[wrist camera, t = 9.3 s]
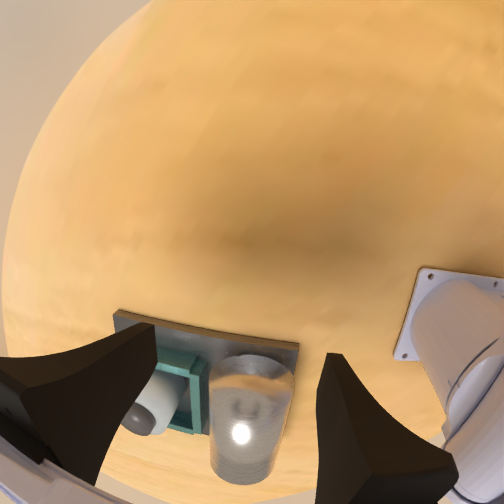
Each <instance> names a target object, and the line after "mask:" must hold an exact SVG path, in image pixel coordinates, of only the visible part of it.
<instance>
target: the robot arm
mask: <svg viewBox="0 0 504 504" xmlns="http://www.w3.org/2000/svg"><path fill="white" fill-rule="evenodd" d="M430 273H432V276H431V277H430V278H428V275H429V274H430ZM495 282H496V283H495ZM494 283H495V285H494ZM403 354H406V355H405V356H403ZM393 356H394V359H395V360H399V361H421V363H422V365H423V367H424V369H425V371H426V373H427V375H428V377H429V379H430V381H431V383H432V385H433V387H434V389H435V392H436V394H437V396H438V398H439V400H440V402H441V405H442V407H443V409H444V412H445V414H446V421H445V423H444V424H443V426H442V427H441V428H442V431H443V434H444V436H445V439H446V442H445V443H444V444H443V445H442V447H441V448H438V447H436V446H434V445H432V444H430V443H429V442H427V441H425V440H424V439H422V438H420V437H419V436H417V435H416V434H414V433H413V432H411V431H410V430H408V429H407V428H406V427H404V426H403V425H402V424H401V423H399V422H398V421H397V420H396V419H394V418H393V417H392V416H391V415H390V414H389V413H388V412H387V411H386V410H385V409H384V408H383V407H382V406H381V405H380V404H379V403H378V402H377V401H376V400H375V399H374V397H373V396H372V395H371V394H370V393H369V392H368V390H367V389H366V388H365V386H364V385H363V384H362V382H361V381H360V380H359V378H358V377H357V375H356V374H355V373H354V371H353V370H352V368H351V367H350V365H349V364H348V362H347V361H346V359H345V358H344V356H343V355H342V354H337V353H327V355H326V359H325V363H324V366H323V370H322V374H321V377H320V381H319V384H318V388H317V397H316V420H317V435H318V450H319V466H318V479H317V489H316V499H315V504H438V503H437V502H438V501H439V500H440V499H441V498H442V497H443V496H444V495H445V496H446V497H447V498H448V499H449V500H450V501H451V502H452V503H454V504H504V279H503V278H496V277H489V276H482V275H474V274H467V273H460V272H452V271H445V270H437V269H430V268H422V269H421V270H420V271H419V273H418V276H417V280H416V284H415V287H414V291H413V295H412V298H411V302H410V305H409V308H408V312H407V315H406V318H405V321H404V324H403V327H402V331H401V333H400V336H399V339H398V342H397V345H396V348H395V351H394V353H393ZM157 363H158V357H157V347H156V337H155V325H154V324H149V323H145V322H140V323H137V324H135V325H133V326H130V327H128V328H126V329H124V330H121V331H119V332H117V333H115V334H113V335H110V336H108V337H106V338H103V339H101V340H98V341H96V342H93V343H91V344H88V345H86V346H83V347H80V348H76V349H73V350H69V351H66V352H61V353H56V354H51V355H45V356H37V357H24V358H12V357H0V490H1V491H2V492H3V493H4V494H6V495H7V496H8V497H9V498H10V499H11V500H12V501H14V502H15V503H16V504H132V503H129V502H127V501H124V500H122V499H120V498H117V497H115V496H113V495H111V494H109V493H107V492H104V491H102V490H100V489H98V488H96V487H94V486H95V483H96V480H97V477H98V474H99V471H100V468H101V466H102V463H103V460H104V458H105V455H106V453H107V451H108V448H109V446H110V444H111V442H112V440H113V437H114V435H115V433H116V431H117V429H118V427H119V425H120V423H121V421H122V420H123V418H124V417H125V415H126V413H127V412H128V410H129V409H130V408H131V406H132V405H133V403H134V402H135V400H136V399H137V398H138V396H139V395H140V393H141V392H142V390H143V389H144V387H145V386H146V384H147V383H148V381H149V380H150V378H151V376H152V374H153V372H154V370H155V368H156V365H157Z"/></svg>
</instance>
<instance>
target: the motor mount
mask: <svg viewBox="0 0 504 504" xmlns="http://www.w3.org/2000/svg"><path fill="white" fill-rule="evenodd" d="M113 320H114V327H115V333H117V332H119V331H121V330H124V329H126V328H128V327H130V326H133V325H135V324H137V323H140V322H145V323H149V324H154V325H155V337H156V347H157V357H158V363H157V365H156V368H155V369H157V370H161V371H165V372H169V373H172V374H176V375H180V376H183V378H184V380H185V383H186V392H185V394H184V396H183V398H182V399H181V401H180V403H179V405H178V407H177V409H176V411H175V413H174V415H173V417H172V418H171V420H170V422H169V424H168V426H167V428H170V429H174V430H177V431H181V432H184V433H188V434H192V435H194V433H197V434H205V435H209V436H210V463H211V467H212V469H213V470H214V472H215V473H216V474H217V475H218V476H219V477H220V478H222V479H223V480H225V481H227V482H229V483H232V484H237V485H251V484H255V483H258V482H260V481H262V480H264V479H265V478H267V477H268V476H269V475H270V473H271V472H272V470H273V468H274V464H275V461H276V457H277V454H278V450H279V447H280V443H281V439H282V436H283V432H284V428H285V424H286V420H287V417H288V413H289V409H290V405H291V400H292V396H293V392H294V387H295V381H294V378H293V375H294V370H295V366H296V361H297V356H298V351H299V343H291V342H283V341H276V340H269V339H262V338H255V337H249V336H243V335H236V334H231V333H225V332H219V331H214V330H208V329H203V328H198V327H193V326H188V325H183V324H178V323H173V322H169V321H164V320H159V319H155V318H151V317H146V316H142V315H138V314H134V313H130V312H126V311H122V310H117V311H116V312H115V313H114V314H113Z"/></svg>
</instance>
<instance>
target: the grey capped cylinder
mask: <svg viewBox="0 0 504 504" xmlns="http://www.w3.org/2000/svg"><path fill="white" fill-rule="evenodd" d="M185 392H186V383H185V380H184V378H183V376H180V375H176V374H172V373H169V372H165V371H161V370H157V369H155V370H154V372H153V374H152V376H151V378H150V380H149V381H148V383H147V384H146V386H145V387H144V389H143V390H142V392H141V393H140V395H139V396H138V398H137V399H136V400H135V402H134V403H133V405H132V406H131V408H130V409H129V410H128V412H127V413H126V415H125V417H124V418H123V420H122V421H121V424H122V425H123V426H124V427H125V428H126V429H128V430H129V431H131V432H133V433H135V434H137V435H141V436H147V435H149V434H151V435H158V434H161V433H163V432H164V431H165V430H166V428H167V426H168V424H169V422H170V420H171V418H172V417H173V415H174V413H175V411H176V409H177V407H178V405H179V403H180V401H181V399H182V398H183V396H184V394H185Z"/></svg>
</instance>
